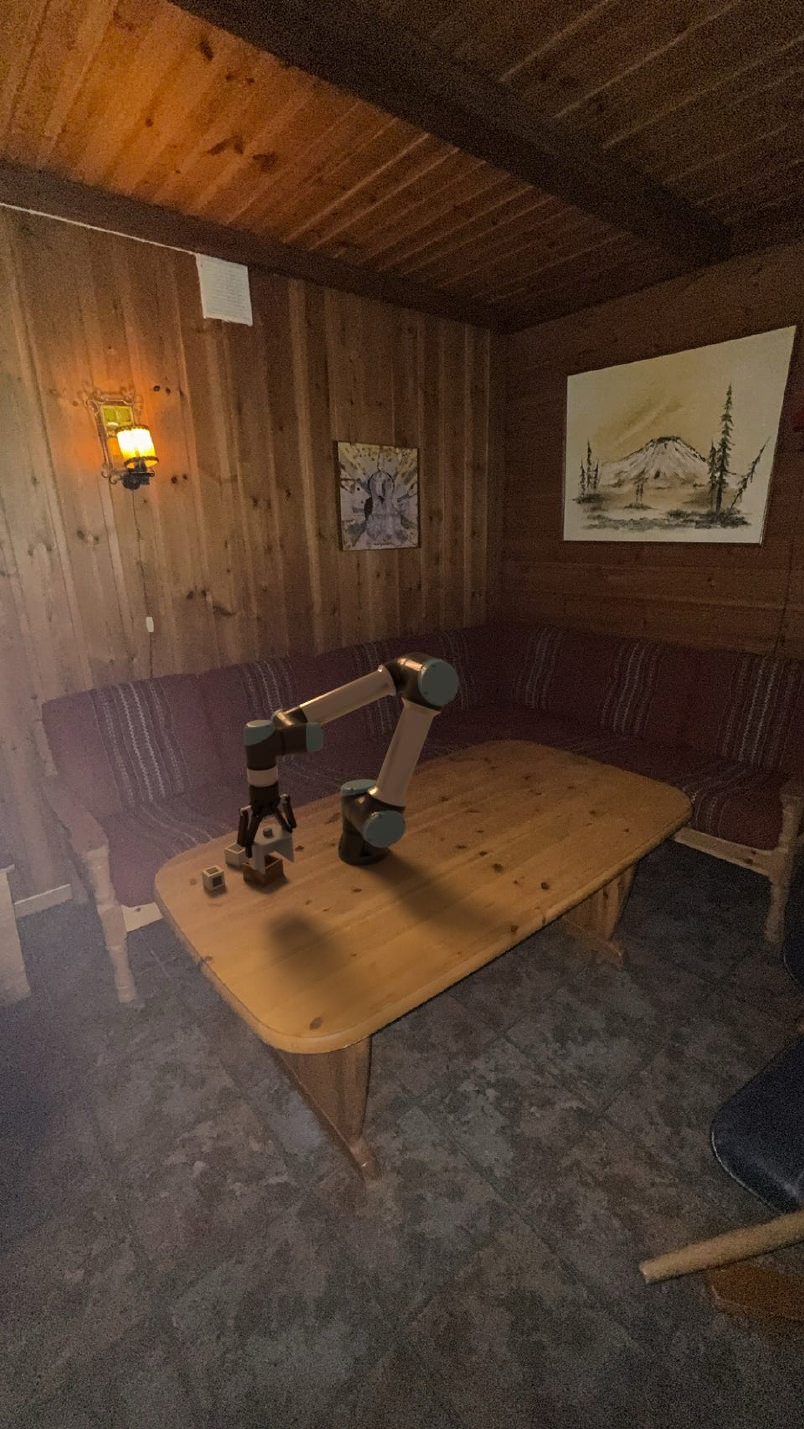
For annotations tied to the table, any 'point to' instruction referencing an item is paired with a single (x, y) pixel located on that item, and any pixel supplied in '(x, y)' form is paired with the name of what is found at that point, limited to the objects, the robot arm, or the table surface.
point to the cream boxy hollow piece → (213, 877)
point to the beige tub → (235, 854)
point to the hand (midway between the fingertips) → (270, 860)
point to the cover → (272, 844)
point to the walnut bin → (271, 869)
